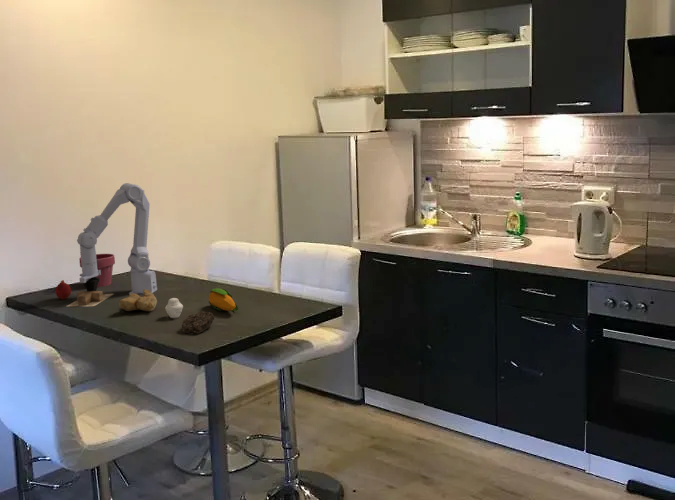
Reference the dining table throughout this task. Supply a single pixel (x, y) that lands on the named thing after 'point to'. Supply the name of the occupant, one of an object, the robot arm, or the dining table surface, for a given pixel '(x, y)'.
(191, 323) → the dark brown lumpy piece
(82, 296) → the t block
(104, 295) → the board
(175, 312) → the white jar
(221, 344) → the dining table surface
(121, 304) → the ginger root
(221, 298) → the corn
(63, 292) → the onion
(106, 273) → the plant pot
